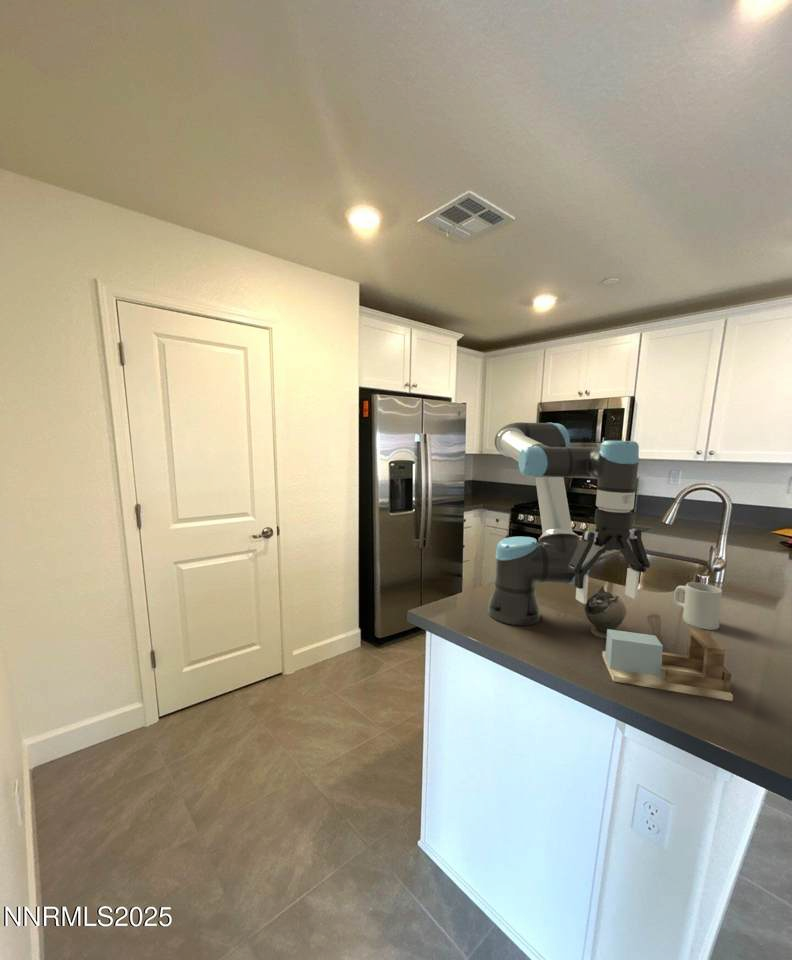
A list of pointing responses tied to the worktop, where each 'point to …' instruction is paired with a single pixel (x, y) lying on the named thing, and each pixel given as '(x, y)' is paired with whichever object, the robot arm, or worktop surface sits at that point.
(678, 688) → the rail board
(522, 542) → the robot arm
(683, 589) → the mug
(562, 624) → the worktop surface
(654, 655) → the pale blue tall block
